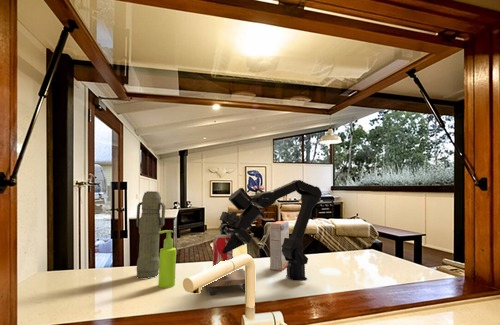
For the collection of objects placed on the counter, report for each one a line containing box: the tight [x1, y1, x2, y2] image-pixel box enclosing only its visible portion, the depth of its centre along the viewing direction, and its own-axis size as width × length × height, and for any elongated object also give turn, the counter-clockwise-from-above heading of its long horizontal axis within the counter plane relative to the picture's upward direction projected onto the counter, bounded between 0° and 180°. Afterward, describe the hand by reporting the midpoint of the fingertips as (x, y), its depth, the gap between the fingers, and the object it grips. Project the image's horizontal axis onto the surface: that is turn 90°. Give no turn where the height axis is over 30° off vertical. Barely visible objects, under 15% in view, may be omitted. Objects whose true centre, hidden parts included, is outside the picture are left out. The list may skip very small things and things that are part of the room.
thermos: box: [135, 190, 166, 279], centre depth 116 cm, size 9×12×35 cm
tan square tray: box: [205, 268, 246, 296], centre depth 98 cm, size 16×14×4 cm
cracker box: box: [268, 220, 290, 272], centre depth 130 cm, size 14×6×21 cm, turn 157°
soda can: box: [212, 234, 234, 267], centre depth 98 cm, size 7×7×12 cm
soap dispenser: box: [157, 229, 177, 289], centre depth 101 cm, size 6×7×20 cm
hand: (219, 251), depth 97 cm, fingers closed on soda can, 7 cm apart
